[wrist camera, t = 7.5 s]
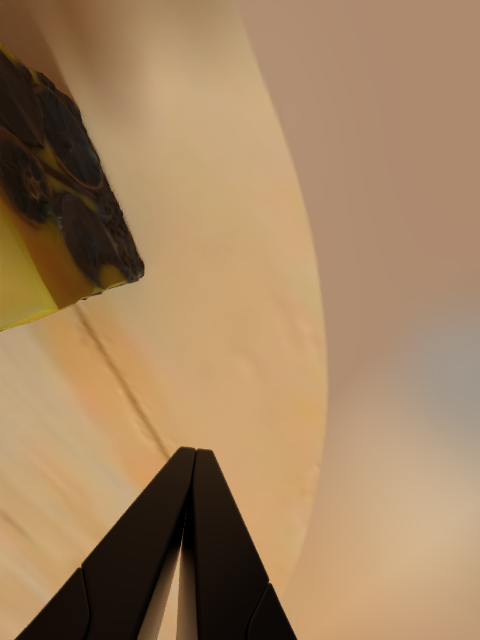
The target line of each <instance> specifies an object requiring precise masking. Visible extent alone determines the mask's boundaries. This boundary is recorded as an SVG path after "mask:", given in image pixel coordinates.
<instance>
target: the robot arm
mask: <svg viewBox="0 0 480 640" xmlns="http://www.w3.org/2000/svg"><path fill="white" fill-rule="evenodd" d="M195 454H196V455H195ZM185 518H186V519H185ZM184 524H185V525H184ZM183 530H184V532H183ZM182 537H183V538H182ZM181 542H182V546H181ZM180 548H181V557H180V575H179V595H178V615H177V635H176V640H297V638H296V636H295V634H294V631H293V629H292V627H291V625H290V623H289V621H288V619H287V617H286V614H285V612H284V610H283V608H282V606H281V604H280V602H279V599H278V597H277V595H276V592H275V590H274V588H273V586H272V584H271V583H269V577H268V575H267V573H266V570H265V568H264V566H263V563H262V561H261V559H260V557H259V554H258V552H257V550H256V548H255V545H254V543H253V541H252V539H251V536H250V534H249V532H248V530H247V527H246V525H245V523H244V520H243V518H242V516H241V514H240V511H239V509H238V507H237V505H236V502H235V500H234V498H233V496H232V493H231V491H230V489H229V487H228V484H227V482H226V480H225V478H224V475H223V473H222V471H221V468H220V466H219V464H218V462H217V459H216V457H215V455H214V453H213V451H212V450H208V449H200V448H199V449H197V450H196V449H195V448H191V447H180V448H179V449H178V450H177V451H176V452H175V453H174V454H173V456H172V457H171V458H170V459H169V460H168V462H167V463H166V464H165V465H164V466H163V468H162V469H161V470H160V471H159V472H158V474H157V475H156V476H155V477H154V478H153V479H152V481H151V482H150V483H149V484H148V485H147V487H146V488H145V489H144V490H143V491H142V493H141V494H140V495H139V496H138V497H137V498H136V500H135V501H134V502H133V503H132V504H131V506H130V507H129V508H128V509H127V510H126V512H125V513H124V514H123V515H122V516H121V517H120V519H119V520H118V521H117V522H116V523H115V525H114V526H113V527H112V528H111V529H110V531H109V532H108V533H107V534H106V535H105V536H104V538H103V539H102V540H101V541H100V542H99V544H98V545H97V546H96V547H95V548H94V550H93V551H92V552H91V553H90V554H89V556H88V557H87V558H86V559H85V560H84V561H83V563H82V564H81V568H80V567H79V568H77V569H76V571H75V572H74V573H73V574H72V575H71V577H70V578H69V579H68V580H67V581H66V583H65V584H64V585H63V586H62V587H61V589H60V590H59V591H58V592H57V593H56V594H55V595H54V596H53V598H52V599H51V600H50V601H49V602H48V603H47V604H46V606H45V607H44V608H43V609H42V610H41V611H40V612H39V613H38V615H37V616H36V617H35V618H34V619H33V620H32V621H31V623H30V624H29V625H28V626H27V627H26V628H25V629H24V630H23V631H22V632H21V633H20V634H19V635H18V636H17V637H16V638H15V639H14V640H157V637H158V633H159V630H160V626H161V622H162V618H163V614H164V611H165V607H166V603H167V599H168V595H169V591H170V588H171V584H172V580H173V576H174V572H175V569H176V565H177V561H178V557H179V552H180Z"/></svg>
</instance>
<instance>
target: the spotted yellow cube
mask: <svg viewBox="0 0 480 640" xmlns="http://www.w3.org/2000/svg"><path fill="white" fill-rule="evenodd" d="M122 216H123V213H122V212H121V210H120V208H119V206H118V204H117V202H116V200H115V197H114V195H113V193H112V192H111V190H110V187H109V185H108V182H107V180H106V178H105V176H104V174H103V171H102V169H101V166H100V163H99V157H98V155H97V154H96V153H95V151H94V150H93V148H92V147H91V145H90V142H89V138H88V135H87V132H86V130H85V128H84V126H83V124H82V120H81V115H80V111H79V110H78V108H77V107H76V105H75V104H74V103H73V101H72V100H71V99H70V98H69V97H68V96H67V95H65V94H63V93H61V92H60V91H58V90H57V89H56V87H55V85H54V84H53V83H52V82H51V81H50V80H49V79H48V78H47V77H46V76H45V75H44V74H43V73H39V72H36V71H34V70H32V69H30V68H28V67H26V66H25V65H24V64H23V63H22V62H20V61H19V60H18V59H17V58H16V57H15V56H14V55H13V54H12V53H11V52H10V51H9V50H8V49H7V48H6V47H5V46H4V45H3V44H2V43H1V42H0V331H3V330H5V329H8V328H12V327H15V326H19V325H23V324H26V323H29V322H32V321H34V320H37V319H39V318H42V317H44V316H47V315H49V314H52V313H54V312H57V311H60V310H62V309H65V308H67V307H70V306H71V305H73V304H74V303H76V302H77V301H78V300H80V299H81V300H86V299H87V298H88V297H90V296H93V295H99V294H102V293H103V291H105V290H108V289H111V288H114V287H118V286H121V285H124V284H128V283H133V282H136V281H139V278H142V277H143V276H144V264H143V263H142V262H141V261H140V260H139V257H138V254H137V252H136V249H135V244H134V241H133V240H132V239H131V237H130V236H129V234H128V230H127V228H126V225H125V222H124V221H123V219H122Z"/></svg>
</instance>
